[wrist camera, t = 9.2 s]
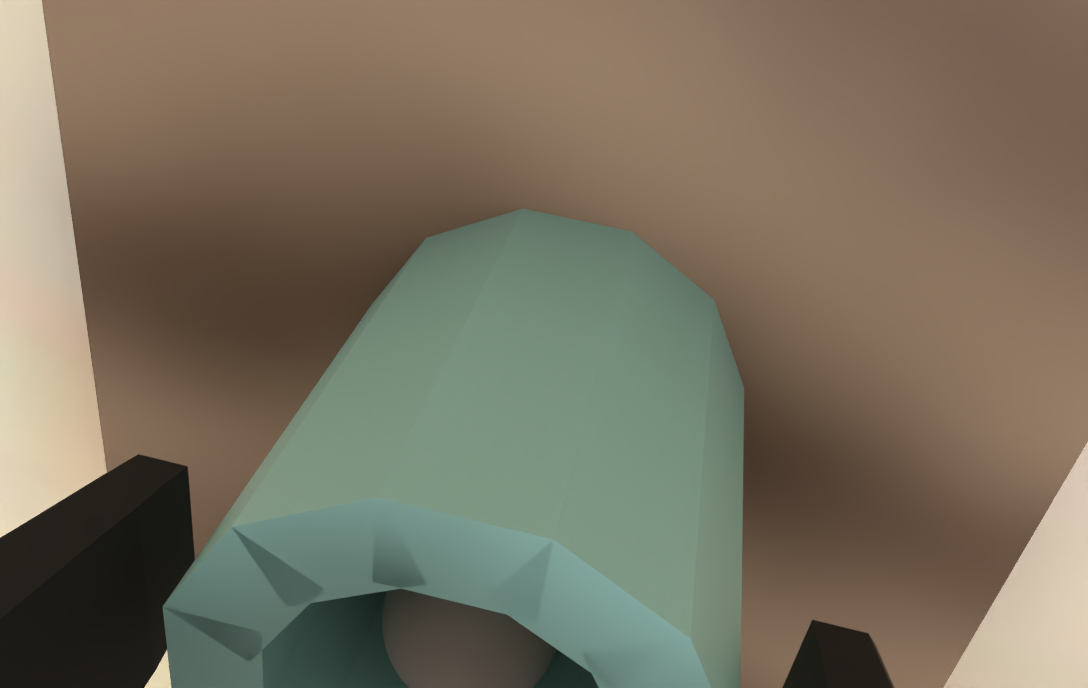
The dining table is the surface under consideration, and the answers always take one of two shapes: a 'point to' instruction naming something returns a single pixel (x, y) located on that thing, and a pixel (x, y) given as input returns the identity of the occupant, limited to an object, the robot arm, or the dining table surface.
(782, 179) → the brown square base plate
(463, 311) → the teal roll
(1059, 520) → the dining table surface
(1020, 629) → the dining table surface
